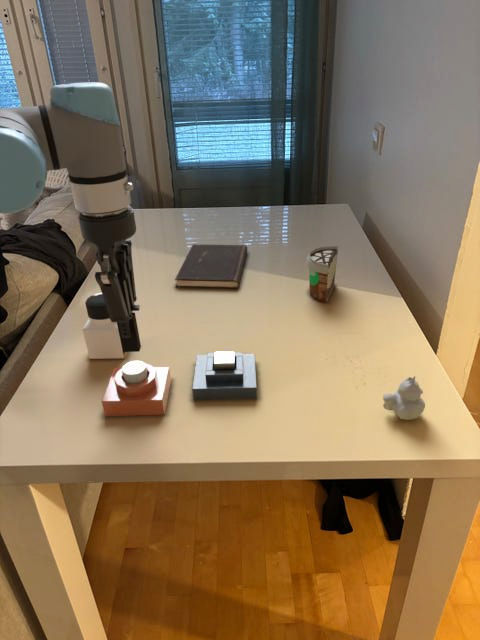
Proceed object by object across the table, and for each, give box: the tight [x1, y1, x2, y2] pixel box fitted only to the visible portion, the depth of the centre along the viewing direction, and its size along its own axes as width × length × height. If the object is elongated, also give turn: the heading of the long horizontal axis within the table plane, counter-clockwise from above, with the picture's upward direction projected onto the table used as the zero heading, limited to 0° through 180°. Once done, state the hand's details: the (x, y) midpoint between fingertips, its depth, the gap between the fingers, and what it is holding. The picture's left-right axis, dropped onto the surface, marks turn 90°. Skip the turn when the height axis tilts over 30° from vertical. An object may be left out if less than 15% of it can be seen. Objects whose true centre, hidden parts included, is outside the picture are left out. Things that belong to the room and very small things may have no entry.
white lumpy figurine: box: [382, 375, 426, 421], centre depth 74 cm, size 5×7×8 cm
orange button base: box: [101, 362, 172, 417], centre depth 80 cm, size 10×9×5 cm
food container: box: [305, 245, 339, 303], centre depth 111 cm, size 12×6×10 cm, turn 159°
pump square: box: [214, 350, 236, 371], centre depth 83 cm, size 4×4×2 cm
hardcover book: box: [174, 243, 248, 290], centre depth 126 cm, size 16×23×2 cm
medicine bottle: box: [82, 292, 128, 360], centre depth 92 cm, size 7×7×12 cm
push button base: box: [191, 352, 258, 401], centre depth 84 cm, size 11×10×4 cm
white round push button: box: [121, 359, 148, 384], centre depth 79 cm, size 4×4×2 cm
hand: (131, 349), depth 76 cm, fingers closed
